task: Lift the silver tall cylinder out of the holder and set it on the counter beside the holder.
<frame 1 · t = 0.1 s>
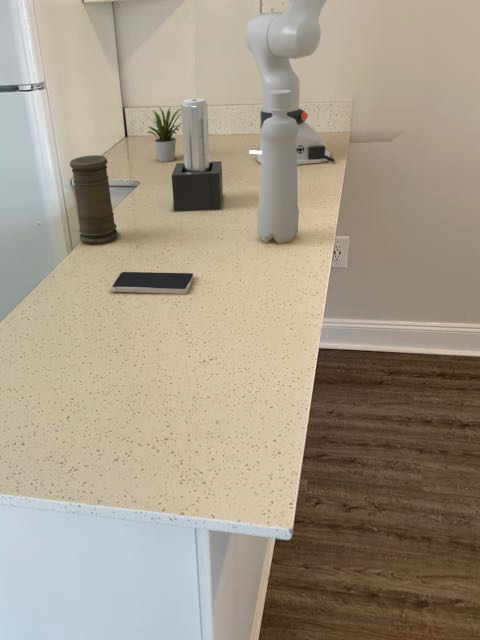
container: (99, 239, 160), on the counter
smartphone: (153, 286, 134), on the counter
bottle: (277, 239, 151), on the counter
silver tall cylinder: (199, 204, 178), resting in holder
holder: (198, 203, 177), on the counter
house plant: (170, 160, 219), on the counter
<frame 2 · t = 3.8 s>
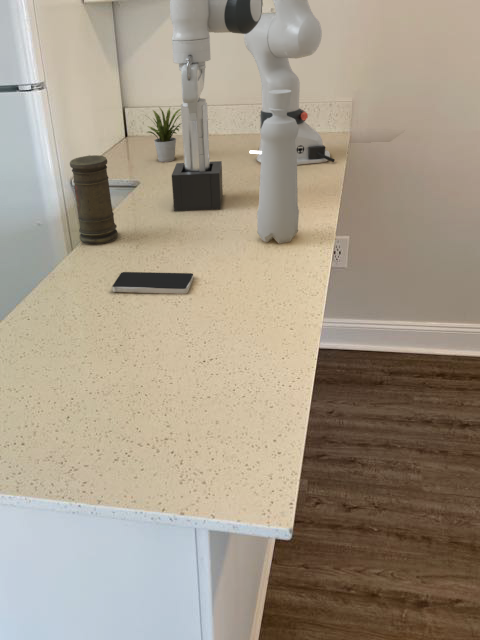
hand: (194, 116, 165), 21 cm above the counter, tool pointing down, fingers closed on silver tall cylinder, 6 cm apart
silver tall cylinder: (198, 204, 178), resting in holder, touching gripper
everything else where it was.
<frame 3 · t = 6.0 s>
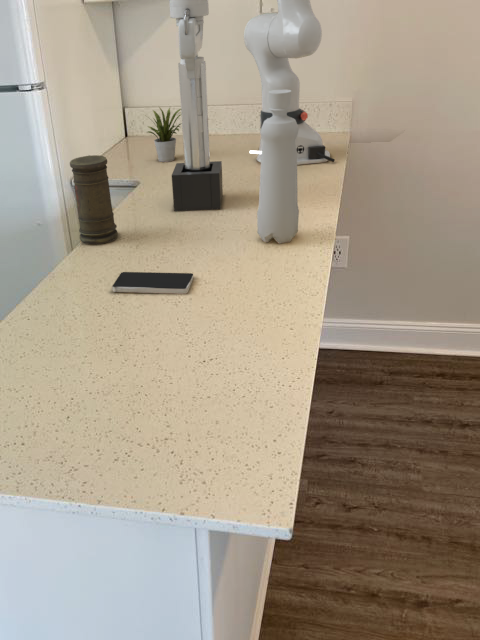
hand: (192, 75, 160), 30 cm above the counter, tool pointing down, fingers closed on silver tall cylinder, 6 cm apart
silver tall cylinder: (197, 168, 173), point 9 cm above the counter, touching gripper
everything else where it was.
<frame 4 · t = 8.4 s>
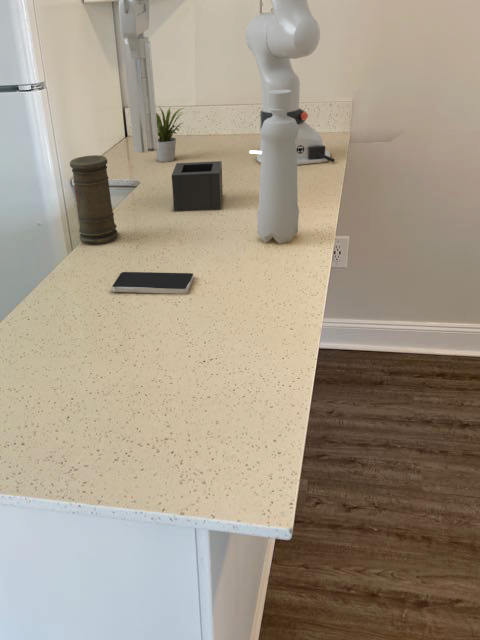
hand: (137, 56, 160), 35 cm above the counter, tool pointing down, fingers closed on silver tall cylinder, 6 cm apart
silver tall cylinder: (146, 150, 172), point 14 cm above the counter, touching gripper
everything else where it was.
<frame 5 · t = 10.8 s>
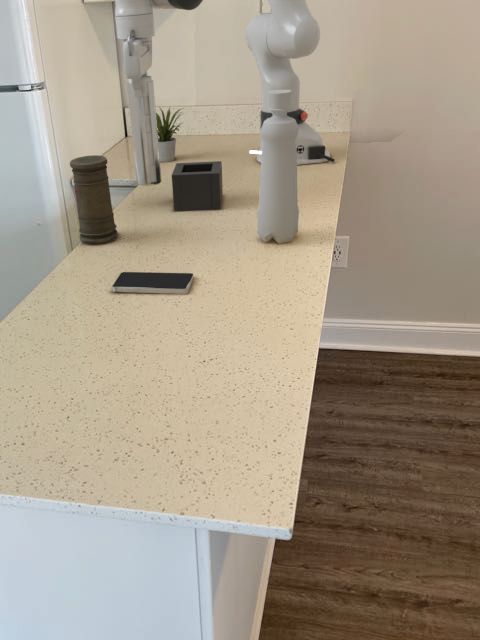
hand: (141, 94, 165), 27 cm above the counter, tool pointing down, fingers closed on silver tall cylinder, 6 cm apart
silver tall cylinder: (149, 183, 177), point 5 cm above the counter, touching gripper
everything else where it was.
when the fingers open (21 cm above the counter, at t = 13.0 s): silver tall cylinder stays where it is, on the counter.
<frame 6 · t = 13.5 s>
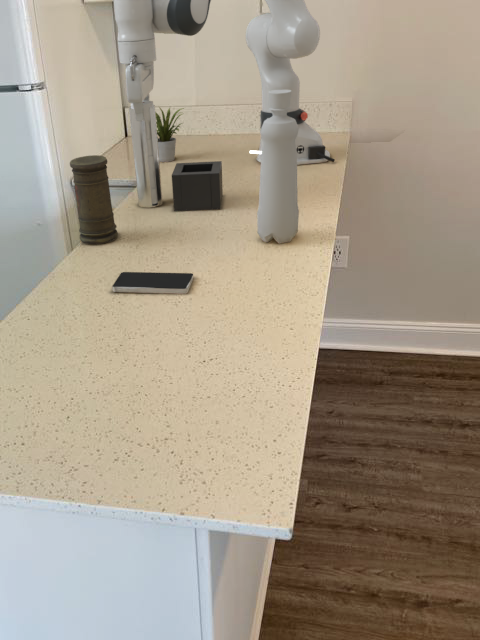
hand: (143, 116, 168), 22 cm above the counter, tool pointing down, fingers open, 8 cm apart
silver tall cylinder: (150, 204, 180), on the counter
everything else where it was.
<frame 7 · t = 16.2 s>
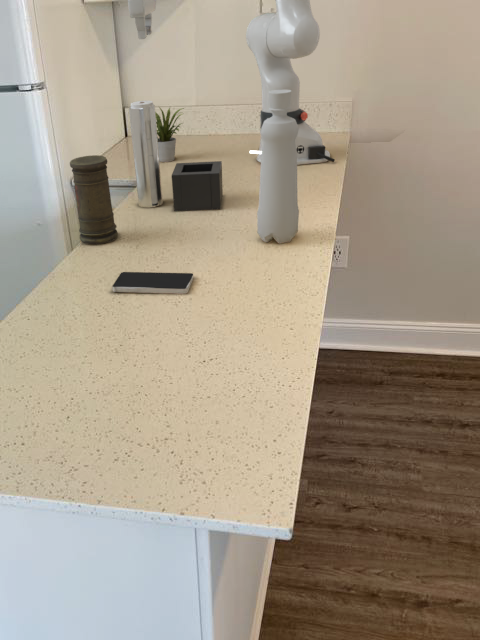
hand: (145, 36, 161), 39 cm above the counter, tool pointing down, fingers open, 8 cm apart
nothing on the counter moved.
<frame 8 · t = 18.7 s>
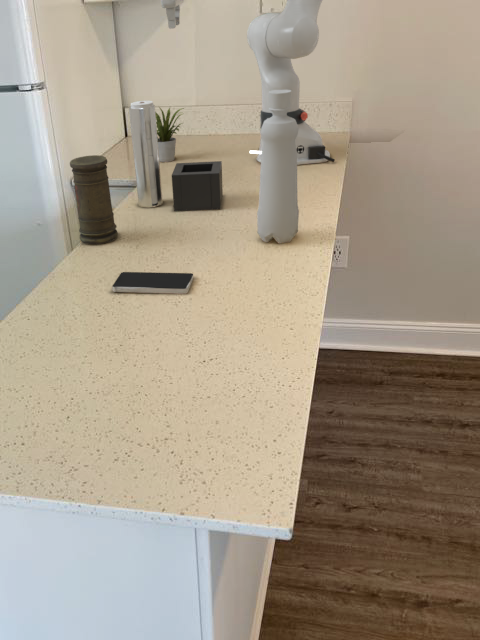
hand: (174, 26, 173), 39 cm above the counter, tool pointing down, fingers open, 8 cm apart
nothing on the counter moved.
at the end: silver tall cylinder 0.1 cm from the target spot, on the counter; silver tall cylinder tilted 0°; the gripper is holding nothing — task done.
